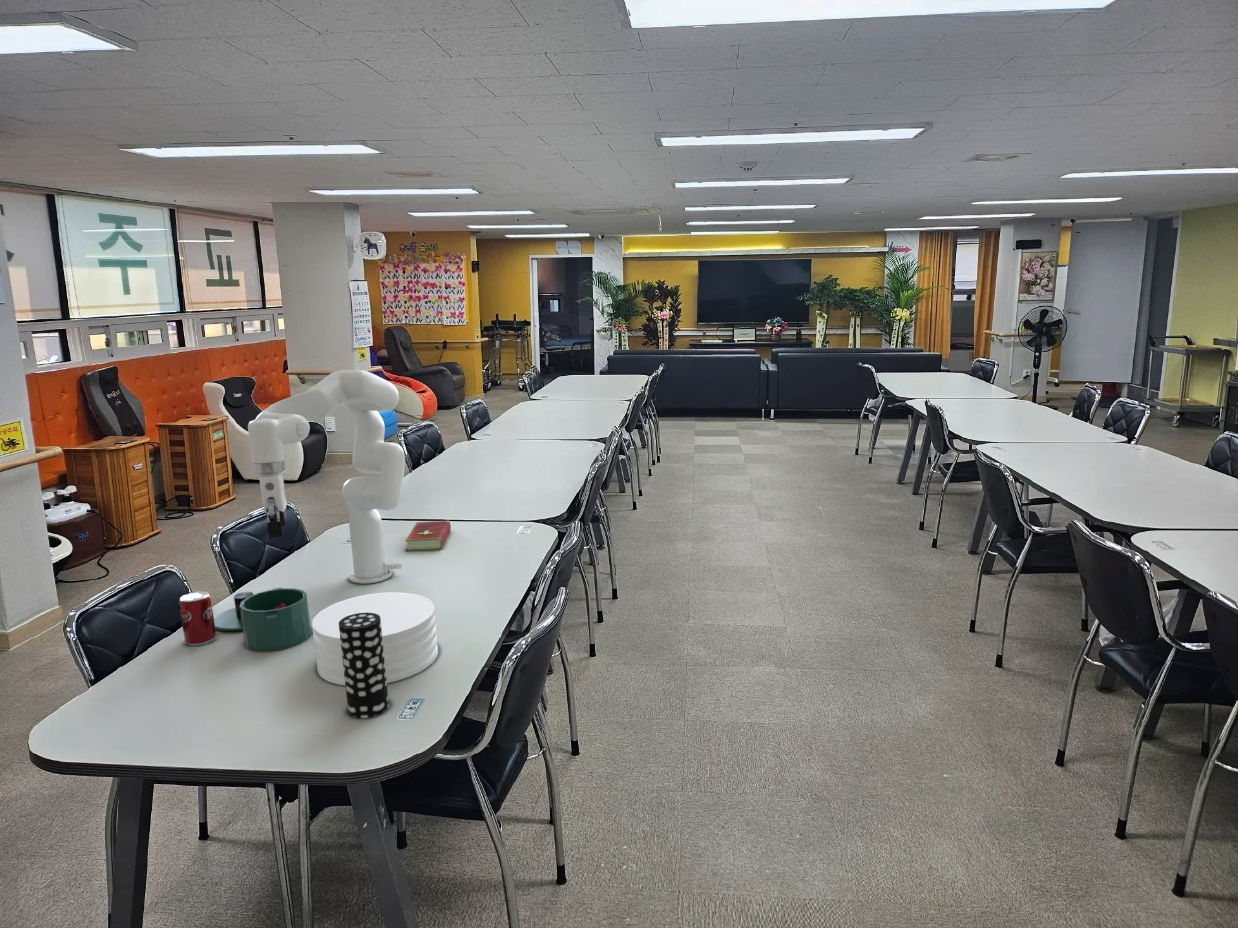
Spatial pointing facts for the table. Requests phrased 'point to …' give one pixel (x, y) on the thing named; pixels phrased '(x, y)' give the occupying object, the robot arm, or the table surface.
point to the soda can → (197, 618)
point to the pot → (275, 619)
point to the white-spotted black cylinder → (364, 664)
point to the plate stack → (402, 634)
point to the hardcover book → (428, 535)
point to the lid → (232, 615)
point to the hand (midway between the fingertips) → (277, 531)
